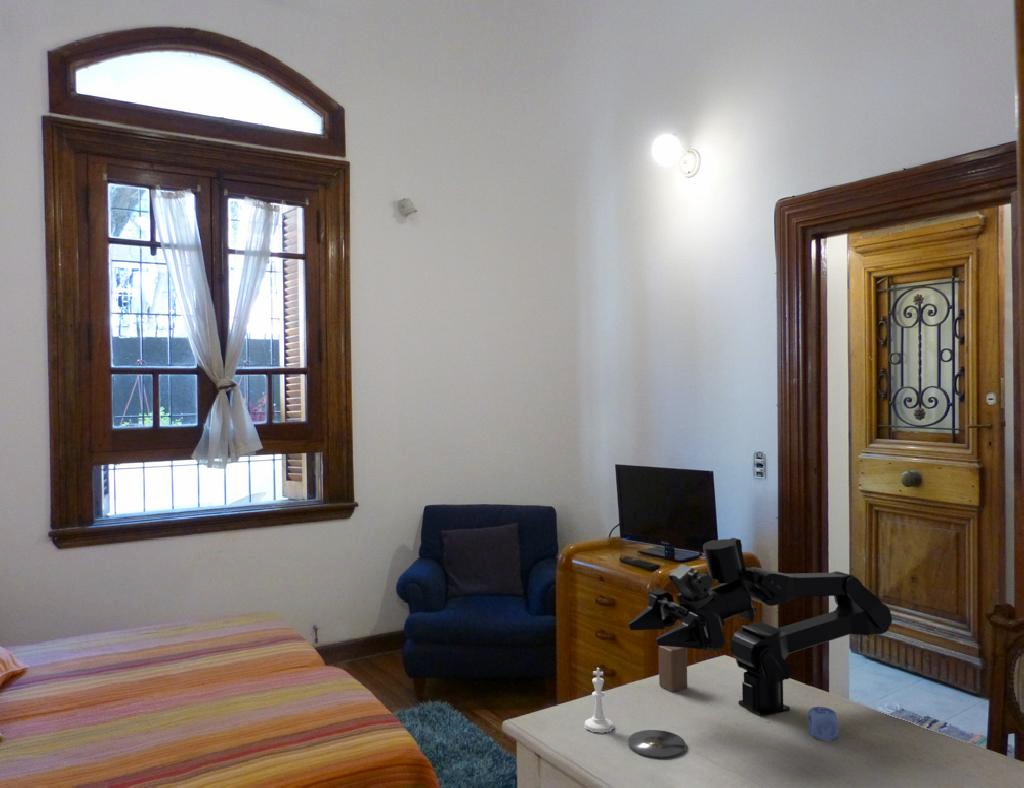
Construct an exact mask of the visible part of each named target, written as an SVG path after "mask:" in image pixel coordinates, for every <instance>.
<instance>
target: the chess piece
mask: <svg viewBox="0 0 1024 788" xmlns="http://www.w3.org/2000/svg"><path fill="white" fill-rule="evenodd" d="M592 675H594V676H596V677H593V678H592V679H591V680H592V681H591V682H592V685H593V687H594V691H593V692H592V693H591V695H592V697H595V700H594V701H595V702H594V710H593V711H594V713H593V715H592V716H591V717H590V718H587V719H586V720H585V721H584V726H585V727H584V729H585V728H586V729H588V730H590V731H594V732H607V733H609V732H608V731H610V730H612V729H613V730H614V724H613V721H612V720H610V719H609V718H606V716H605V715H604V709H603V703H602V698H603V697H605V695H606V694H605V692H604V691H602V689H603V686H604V682H605V680H604V678H602V677H600V676H604V672H603V671H600V668H599V667H596V670H594V671H592ZM586 729H585V730H586ZM613 730H612V731H613ZM610 732H611V731H610Z"/></svg>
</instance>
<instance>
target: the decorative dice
mask: <svg viewBox="0 0 1024 788" xmlns="http://www.w3.org/2000/svg"><path fill="white" fill-rule="evenodd" d="M838 719H839V718H838V716H837V713H836V711H835V710H834V709H832V708H829V707H825V706H813V707H811V708H809V710H808V712H807V724H808V725H807V726H808V730H809V734H810V736H811V735H812V736H811V737H813V738H814V737H815V738H814V739H816V738H818V739H817V740H820V739H822V740H821V741H826V740H829V741H834V740H836V739H837V738H838V737H839V732H840V731H839V720H838ZM833 739H834V740H833Z"/></svg>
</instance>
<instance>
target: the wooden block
mask: <svg viewBox="0 0 1024 788" xmlns="http://www.w3.org/2000/svg"><path fill="white" fill-rule="evenodd" d="M687 649H688V648H682V647H669V646H658V681H659V683H658V684H659V687H661V688H662V689H665V690H666V691H669V692H672V693H674V692H677V691H682V690H686V689H688V650H687Z"/></svg>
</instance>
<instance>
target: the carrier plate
mask: <svg viewBox="0 0 1024 788" xmlns="http://www.w3.org/2000/svg"><path fill="white" fill-rule="evenodd" d="M627 740H628V742H627V743H628V745H627V746H628V747H629V749H630V750H631V751H632V752H634V753H635V754H637V755H640V756H642V757H646V758H650V759H651V758H652V759H671V758H676V757H679V756H681V755H682V754H683V753H684V752H685V751H686V741H685V739H684V738H683V737H681V736H680V735H678V734H676V733H673V732H671V731H666V730H660V729H646V730H639V731H637V732H634V733H632V734H631V735H630V736H628V739H627Z"/></svg>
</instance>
